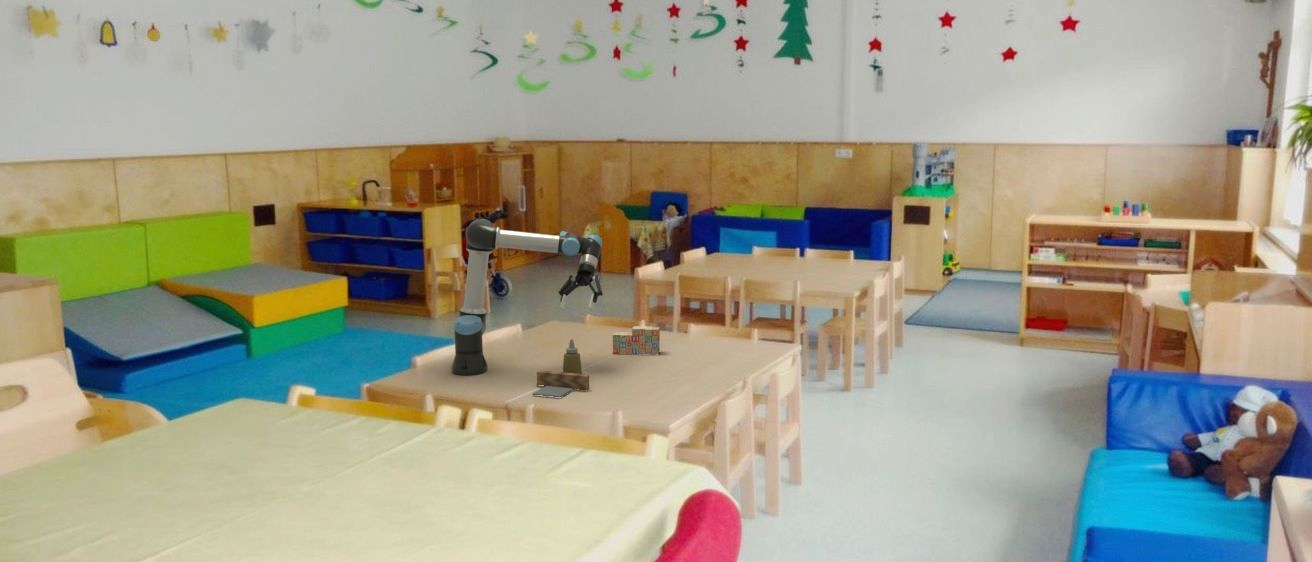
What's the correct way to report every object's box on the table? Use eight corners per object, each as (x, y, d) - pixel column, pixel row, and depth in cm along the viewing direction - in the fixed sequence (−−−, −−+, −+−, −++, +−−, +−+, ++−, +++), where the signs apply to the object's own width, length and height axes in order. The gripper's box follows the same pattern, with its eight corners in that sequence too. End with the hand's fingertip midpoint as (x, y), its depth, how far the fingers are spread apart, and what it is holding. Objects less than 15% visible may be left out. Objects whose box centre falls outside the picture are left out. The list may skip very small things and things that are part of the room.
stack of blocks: (612, 354, 451) (612, 328, 449) (614, 351, 457) (614, 325, 455) (658, 355, 449) (658, 329, 447) (659, 352, 455) (659, 326, 453)
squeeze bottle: (573, 385, 397) (572, 342, 394) (558, 382, 402) (557, 340, 399) (586, 381, 404) (585, 339, 401) (571, 378, 409) (570, 336, 406)
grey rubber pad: (560, 398, 379) (560, 396, 379) (532, 396, 383) (532, 393, 383) (573, 390, 390) (573, 388, 390) (546, 388, 394) (546, 385, 394)
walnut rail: (589, 389, 392) (589, 374, 391) (586, 391, 389) (586, 376, 388) (540, 384, 400) (539, 370, 399) (536, 386, 397) (536, 371, 396)
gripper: (616, 271, 425) (605, 313, 414) (565, 272, 434) (553, 313, 424) (610, 261, 419) (599, 304, 409) (558, 263, 428) (546, 304, 418)
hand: (576, 308), depth 416 cm, fingers open, 13 cm apart
